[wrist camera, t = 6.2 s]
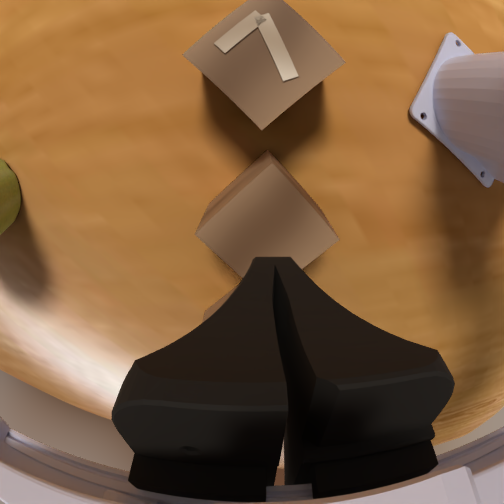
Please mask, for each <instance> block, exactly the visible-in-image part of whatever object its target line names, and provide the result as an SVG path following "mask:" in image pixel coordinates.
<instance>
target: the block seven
mask: <svg viewBox="0 0 504 504" xmlns="http://www.w3.org/2000/svg"><path fill="white" fill-rule="evenodd" d="M183 56H184V57H185V58H186V59H187V60H189V61H190V62H191V63H192V64H193V65H194V66H195V67H196V68H198V69H199V70H200V71H201V72H202V73H203V74H204V75H205V76H206V77H208V78H209V79H210V80H211V81H212V82H213V83H214V84H215V85H216V86H217V87H218V88H219V89H220V90H221V91H223V92H224V93H225V94H226V95H227V96H228V97H229V98H230V99H231V100H232V101H233V102H234V103H235V104H236V105H237V106H238V107H239V108H240V109H241V110H242V111H243V112H244V113H245V114H246V115H247V116H248V117H249V118H250V119H251V120H252V121H253V122H254V123H255V124H256V125H257V126H258V127H259V128H260V129H261V130H263V129H264V128H265V127H266V126H268V125H269V124H270V123H271V122H272V121H273V120H275V119H276V118H277V117H278V116H279V115H280V114H282V113H283V112H284V111H285V110H286V109H287V108H289V107H290V106H291V105H292V104H293V103H295V102H296V101H297V100H298V99H300V98H301V97H302V96H303V95H304V94H306V93H307V92H308V91H309V90H311V89H312V88H313V87H314V86H316V85H317V84H318V83H320V82H321V81H322V80H323V79H325V78H326V77H327V76H329V75H330V74H331V73H332V72H334V71H335V70H336V69H338V68H339V67H340V66H342V65H343V64H344V63H346V62H345V61H344V60H343V59H342V57H341V56H340V55H339V54H338V53H337V52H336V51H335V50H334V49H333V48H332V47H331V45H330V44H329V43H328V42H327V41H326V40H325V39H324V38H323V37H322V36H321V35H320V34H319V33H318V32H317V31H316V30H315V29H314V28H313V27H312V26H311V25H310V24H309V23H308V22H307V21H305V20H304V19H303V18H302V17H301V16H300V15H299V14H298V13H297V12H296V11H295V10H293V9H292V8H291V7H290V6H289V5H288V4H287V3H285V2H284V1H283V0H248V1H246V2H245V3H244V4H242V5H241V6H240V7H238V8H237V9H236V10H234V11H233V12H232V13H230V14H229V15H228V16H227V17H225V18H224V19H223V20H222V21H220V22H219V23H218V24H217V25H215V26H214V27H213V28H212V29H211V30H209V31H208V32H207V33H206V34H205V35H204V36H202V37H201V38H200V39H199V40H198V41H197V42H196V43H195V44H194V45H192V46H191V47H190V48H189V49H188V50H187V51H186V52H185V53H184V54H183Z"/></svg>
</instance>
